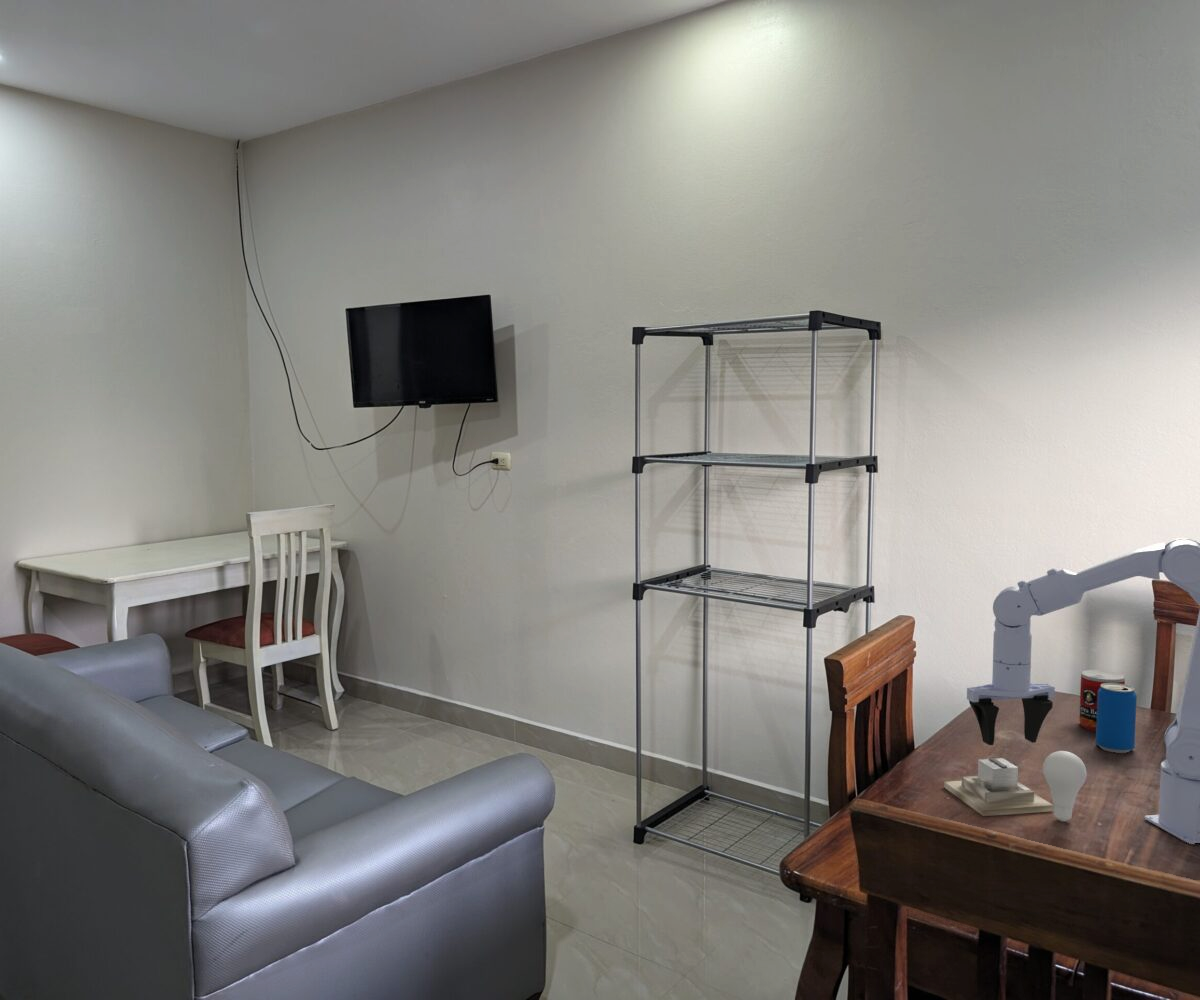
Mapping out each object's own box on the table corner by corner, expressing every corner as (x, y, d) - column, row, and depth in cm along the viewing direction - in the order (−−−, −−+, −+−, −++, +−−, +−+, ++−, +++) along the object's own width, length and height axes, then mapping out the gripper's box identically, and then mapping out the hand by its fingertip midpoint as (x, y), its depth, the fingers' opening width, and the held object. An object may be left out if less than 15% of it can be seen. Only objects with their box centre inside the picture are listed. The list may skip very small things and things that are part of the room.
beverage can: (1139, 755, 176) (1142, 692, 175) (1101, 753, 177) (1104, 690, 176) (1127, 744, 182) (1130, 683, 181) (1091, 742, 184) (1093, 681, 183)
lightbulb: (1071, 812, 150) (1073, 745, 149) (1092, 828, 144) (1095, 758, 143) (1033, 813, 150) (1036, 745, 149) (1053, 829, 144) (1055, 759, 143)
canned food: (1070, 724, 194) (1072, 672, 194) (1097, 719, 198) (1099, 667, 197) (1104, 735, 187) (1106, 681, 187) (1131, 730, 191) (1133, 676, 190)
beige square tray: (1052, 811, 151) (1053, 796, 150) (983, 816, 149) (983, 800, 149) (1009, 783, 162) (1009, 769, 162) (944, 787, 161) (944, 773, 160)
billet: (1017, 797, 154) (1018, 766, 153) (992, 799, 153) (993, 767, 153) (1001, 787, 158) (1002, 756, 158) (977, 788, 157) (978, 758, 157)
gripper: (1037, 653, 160) (1034, 731, 161) (957, 656, 158) (955, 736, 159) (1063, 663, 153) (1061, 745, 154) (981, 667, 151) (978, 750, 152)
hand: (1009, 741), depth 156 cm, fingers open, 7 cm apart
